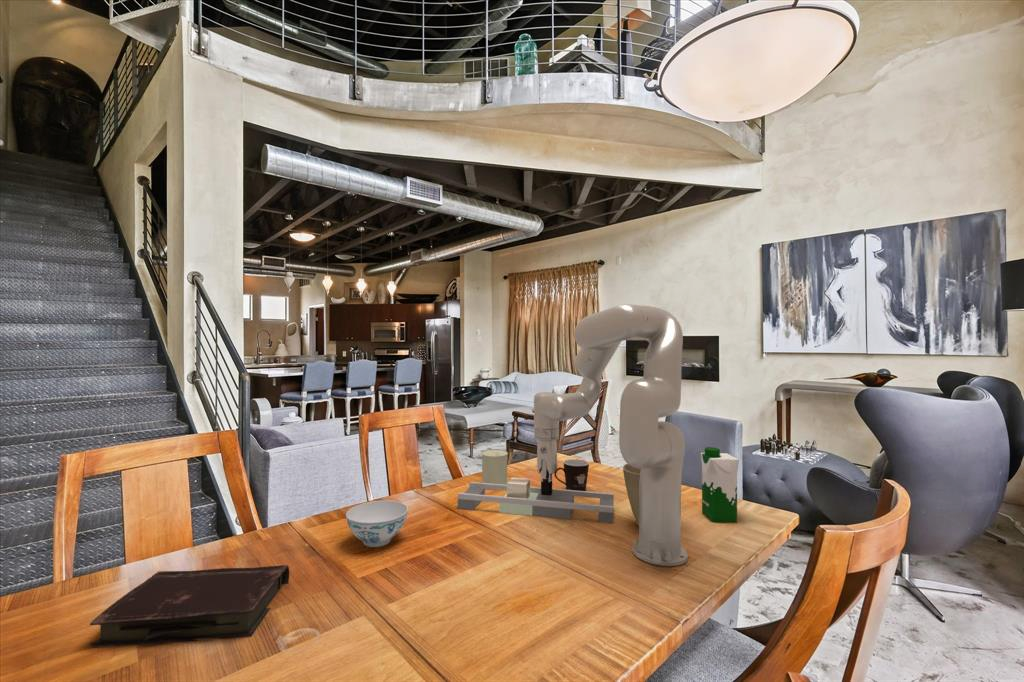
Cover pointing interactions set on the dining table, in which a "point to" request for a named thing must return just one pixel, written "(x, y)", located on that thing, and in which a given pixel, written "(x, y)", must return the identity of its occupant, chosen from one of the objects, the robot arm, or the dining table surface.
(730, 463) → the milk carton
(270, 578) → the diary
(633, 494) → the plant pot
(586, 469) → the coffee mug
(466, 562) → the dining table surface
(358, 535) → the chinaware
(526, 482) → the block
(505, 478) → the can
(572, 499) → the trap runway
